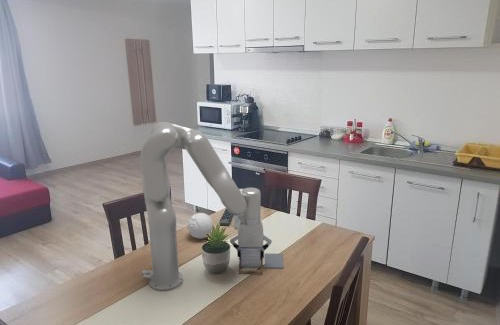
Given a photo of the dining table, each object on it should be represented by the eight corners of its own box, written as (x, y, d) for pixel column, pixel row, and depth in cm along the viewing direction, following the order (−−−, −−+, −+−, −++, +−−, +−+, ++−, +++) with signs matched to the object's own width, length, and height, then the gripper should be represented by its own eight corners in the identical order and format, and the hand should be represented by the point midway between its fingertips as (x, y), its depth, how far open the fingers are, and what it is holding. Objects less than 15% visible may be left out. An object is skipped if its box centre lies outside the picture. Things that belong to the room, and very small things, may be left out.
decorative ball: (183, 236, 177) (182, 213, 174) (204, 229, 185) (203, 207, 181) (196, 245, 168) (195, 221, 165) (218, 237, 176) (217, 214, 173)
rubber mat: (264, 268, 150) (264, 267, 150) (264, 254, 160) (264, 253, 160) (283, 268, 149) (283, 267, 149) (282, 254, 160) (282, 253, 160)
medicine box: (260, 261, 154) (260, 242, 151) (260, 267, 149) (260, 248, 147) (241, 261, 154) (241, 242, 152) (240, 267, 150) (240, 247, 147)
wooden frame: (238, 274, 146) (238, 271, 145) (240, 256, 159) (240, 253, 158) (262, 274, 145) (262, 271, 145) (262, 257, 158) (262, 254, 158)
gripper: (228, 222, 143) (228, 262, 148) (273, 223, 142) (272, 263, 147) (229, 214, 150) (230, 253, 155) (272, 215, 150) (271, 254, 154)
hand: (250, 258), depth 151 cm, fingers closed on medicine box, 8 cm apart
